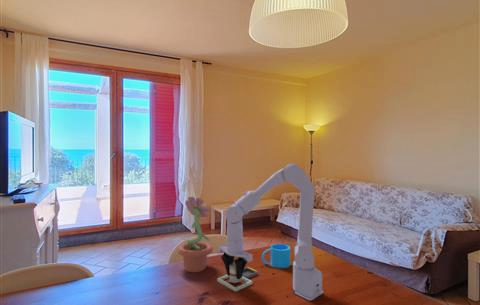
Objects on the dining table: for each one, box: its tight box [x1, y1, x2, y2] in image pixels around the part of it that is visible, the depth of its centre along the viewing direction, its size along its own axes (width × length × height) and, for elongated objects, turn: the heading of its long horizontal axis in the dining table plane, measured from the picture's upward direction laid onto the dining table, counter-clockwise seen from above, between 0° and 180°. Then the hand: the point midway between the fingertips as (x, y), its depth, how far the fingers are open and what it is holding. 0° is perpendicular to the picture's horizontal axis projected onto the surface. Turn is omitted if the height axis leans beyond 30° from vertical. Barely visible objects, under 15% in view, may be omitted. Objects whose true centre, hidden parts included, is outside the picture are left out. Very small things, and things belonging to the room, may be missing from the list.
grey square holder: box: [242, 266, 259, 280], centre depth 107 cm, size 6×6×2 cm
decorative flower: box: [177, 196, 213, 273], centre depth 113 cm, size 15×14×30 cm
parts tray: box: [216, 274, 253, 292], centre depth 100 cm, size 10×8×2 cm
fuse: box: [228, 262, 241, 284], centre depth 100 cm, size 4×4×6 cm
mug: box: [261, 243, 291, 269], centre depth 117 cm, size 12×8×8 cm
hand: (234, 276), depth 100 cm, fingers closed on fuse, 4 cm apart
